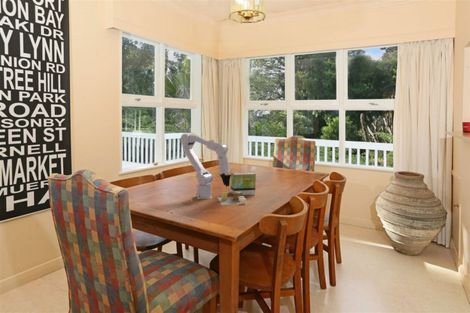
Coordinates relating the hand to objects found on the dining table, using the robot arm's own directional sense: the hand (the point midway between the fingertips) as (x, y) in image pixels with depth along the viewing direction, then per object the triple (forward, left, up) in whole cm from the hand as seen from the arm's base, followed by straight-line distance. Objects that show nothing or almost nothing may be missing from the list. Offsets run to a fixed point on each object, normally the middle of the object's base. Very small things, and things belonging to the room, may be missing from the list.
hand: (226, 185), depth 196 cm
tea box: (+14, +15, -10) cm, 23 cm away
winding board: (+3, -2, -10) cm, 10 cm away
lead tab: (-1, 0, -9) cm, 9 cm away
